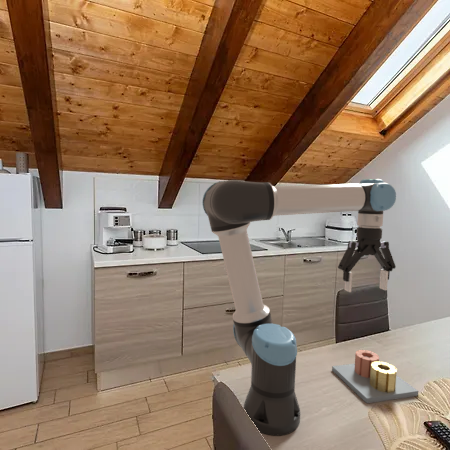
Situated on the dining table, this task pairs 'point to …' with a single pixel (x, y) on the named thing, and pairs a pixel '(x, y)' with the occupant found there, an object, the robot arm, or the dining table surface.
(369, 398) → the peg board
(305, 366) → the dining table surface
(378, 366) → the gear brass
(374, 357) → the gear red
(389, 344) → the dining table surface
